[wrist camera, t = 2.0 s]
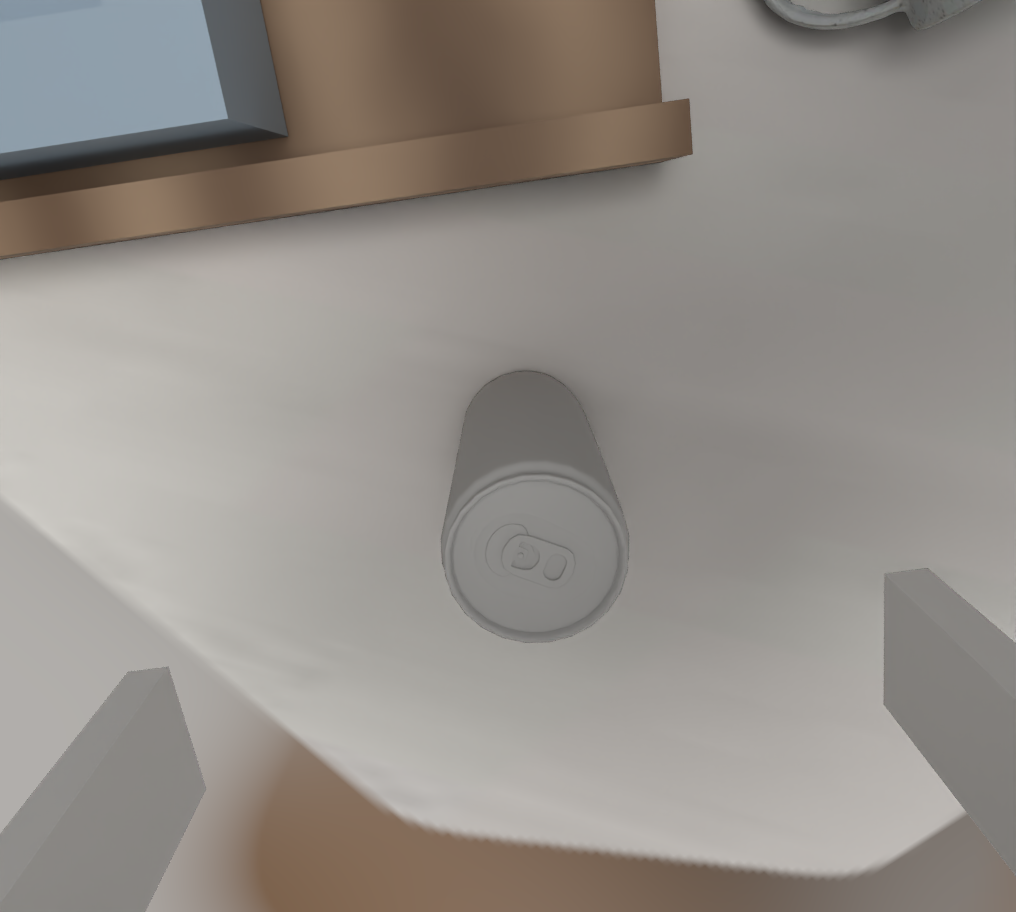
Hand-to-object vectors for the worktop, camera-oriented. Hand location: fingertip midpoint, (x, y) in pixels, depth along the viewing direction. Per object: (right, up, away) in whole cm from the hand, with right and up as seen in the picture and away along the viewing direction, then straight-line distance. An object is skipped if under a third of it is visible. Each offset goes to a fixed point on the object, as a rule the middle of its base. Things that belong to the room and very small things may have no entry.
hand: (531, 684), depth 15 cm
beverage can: (0, +5, +16) cm, 17 cm away
